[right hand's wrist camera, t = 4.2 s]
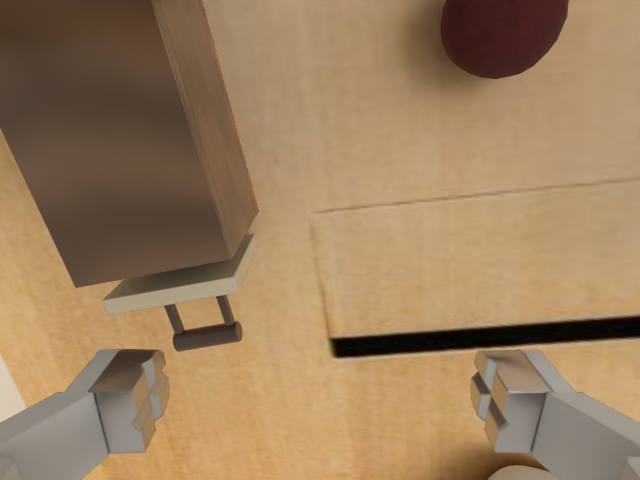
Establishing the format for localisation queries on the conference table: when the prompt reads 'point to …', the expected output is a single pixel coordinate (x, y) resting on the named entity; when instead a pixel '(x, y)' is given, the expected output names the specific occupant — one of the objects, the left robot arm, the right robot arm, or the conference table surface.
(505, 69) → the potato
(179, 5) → the cabinet
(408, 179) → the conference table surface
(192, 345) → the drawer
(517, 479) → the white rounded slotted shell
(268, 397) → the conference table surface
